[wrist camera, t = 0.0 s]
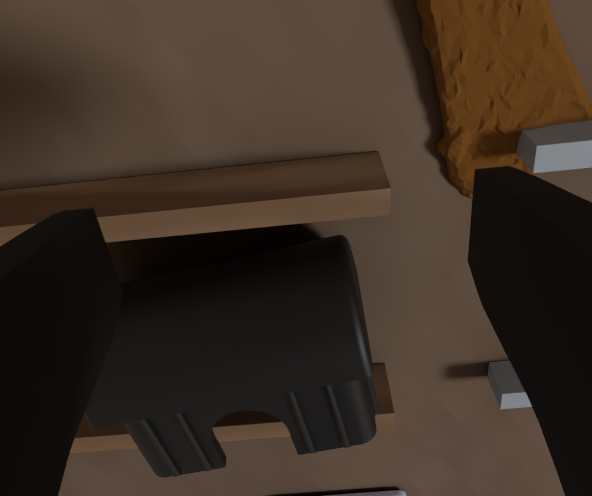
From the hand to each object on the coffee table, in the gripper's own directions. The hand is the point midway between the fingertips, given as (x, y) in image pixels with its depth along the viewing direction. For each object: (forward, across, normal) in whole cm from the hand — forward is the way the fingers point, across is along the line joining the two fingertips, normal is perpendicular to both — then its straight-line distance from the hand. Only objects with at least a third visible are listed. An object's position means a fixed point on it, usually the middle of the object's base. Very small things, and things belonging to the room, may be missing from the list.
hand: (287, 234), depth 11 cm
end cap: (+10, +3, +9) cm, 14 cm away
